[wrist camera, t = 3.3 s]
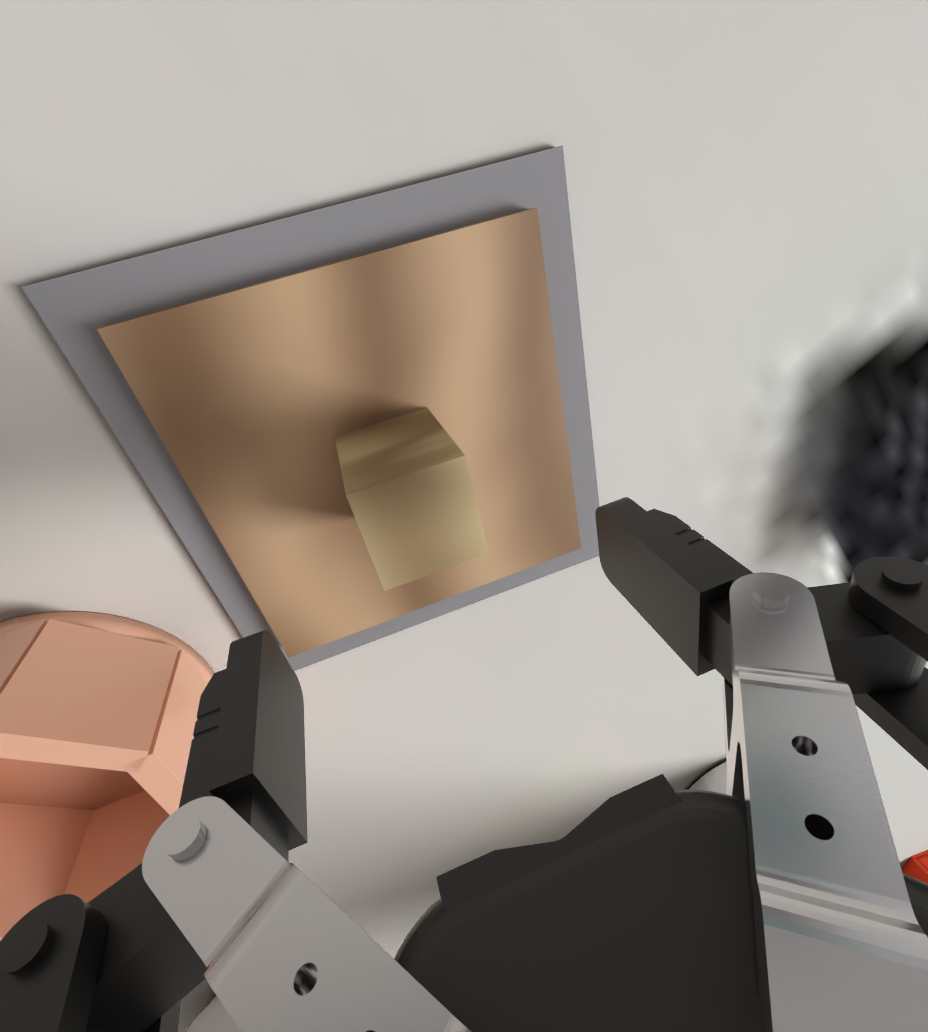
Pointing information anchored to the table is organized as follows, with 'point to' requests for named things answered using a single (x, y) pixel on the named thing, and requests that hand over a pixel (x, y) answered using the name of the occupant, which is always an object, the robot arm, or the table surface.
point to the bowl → (88, 750)
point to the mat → (298, 247)
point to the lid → (369, 425)
